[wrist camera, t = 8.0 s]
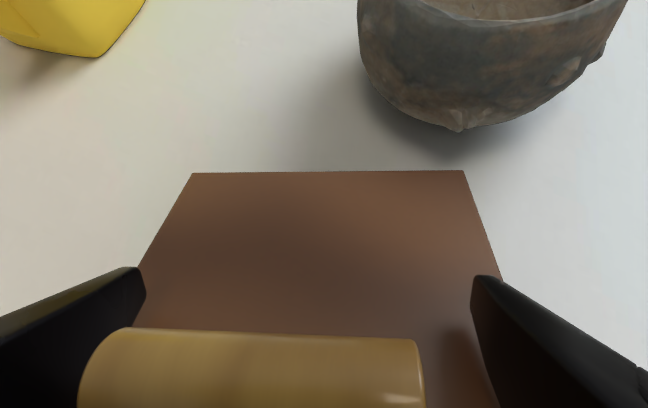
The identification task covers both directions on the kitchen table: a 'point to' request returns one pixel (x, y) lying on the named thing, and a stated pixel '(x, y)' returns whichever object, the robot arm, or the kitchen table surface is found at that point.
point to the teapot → (67, 24)
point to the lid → (305, 297)
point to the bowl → (479, 54)
